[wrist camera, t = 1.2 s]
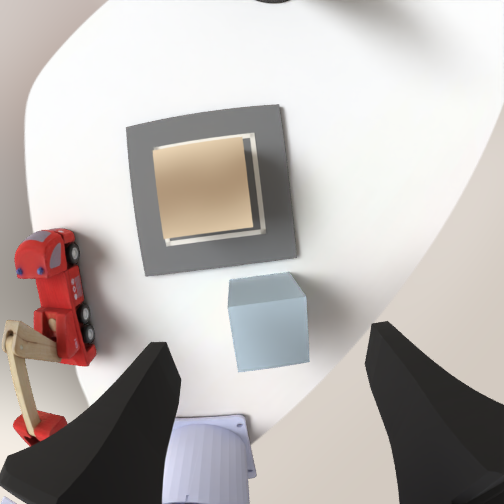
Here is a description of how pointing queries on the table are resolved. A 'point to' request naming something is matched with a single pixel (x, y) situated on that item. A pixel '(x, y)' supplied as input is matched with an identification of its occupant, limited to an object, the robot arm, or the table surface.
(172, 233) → the beech block
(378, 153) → the table surface
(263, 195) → the grey square pad
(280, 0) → the sundae
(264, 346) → the bluegrey block
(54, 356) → the toy fire truck
